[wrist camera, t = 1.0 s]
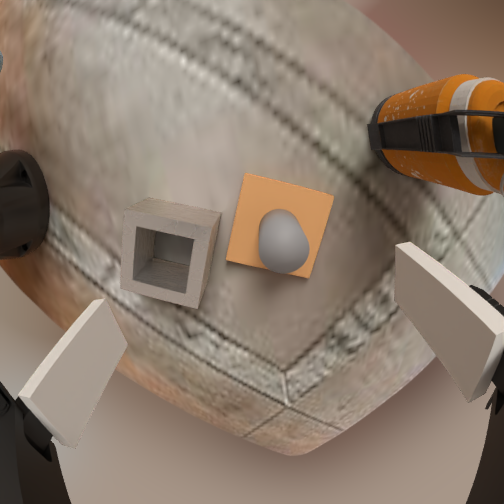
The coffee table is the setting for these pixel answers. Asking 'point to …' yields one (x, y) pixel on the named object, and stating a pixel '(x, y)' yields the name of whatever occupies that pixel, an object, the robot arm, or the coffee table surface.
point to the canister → (445, 133)
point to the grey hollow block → (161, 271)
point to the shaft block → (278, 226)
